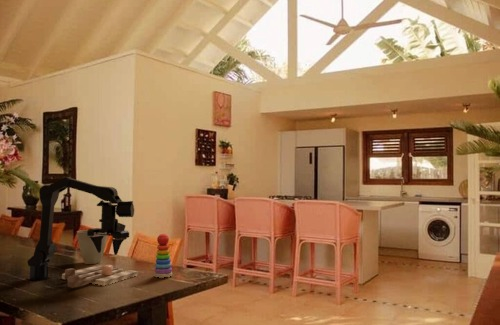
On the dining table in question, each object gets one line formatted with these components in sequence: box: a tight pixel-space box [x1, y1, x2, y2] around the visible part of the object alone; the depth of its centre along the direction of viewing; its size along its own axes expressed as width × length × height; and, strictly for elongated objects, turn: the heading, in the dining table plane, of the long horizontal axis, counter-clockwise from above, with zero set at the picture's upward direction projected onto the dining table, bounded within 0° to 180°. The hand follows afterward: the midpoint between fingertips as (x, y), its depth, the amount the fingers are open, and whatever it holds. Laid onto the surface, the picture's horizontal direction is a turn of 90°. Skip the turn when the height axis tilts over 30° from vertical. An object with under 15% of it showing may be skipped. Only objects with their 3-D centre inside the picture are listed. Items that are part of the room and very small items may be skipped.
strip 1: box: [64, 267, 102, 280], centre depth 184 cm, size 22×3×4 cm, turn 154°
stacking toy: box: [153, 233, 173, 279], centre depth 187 cm, size 8×8×19 cm
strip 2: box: [67, 273, 115, 289], centre depth 172 cm, size 22×3×4 cm, turn 154°
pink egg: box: [101, 264, 114, 275], centre depth 179 cm, size 4×4×4 cm
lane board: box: [61, 265, 139, 287], centre depth 182 cm, size 22×24×2 cm
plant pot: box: [76, 229, 108, 265], centre depth 212 cm, size 15×15×16 cm
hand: (107, 253), depth 179 cm, fingers open, 9 cm apart
